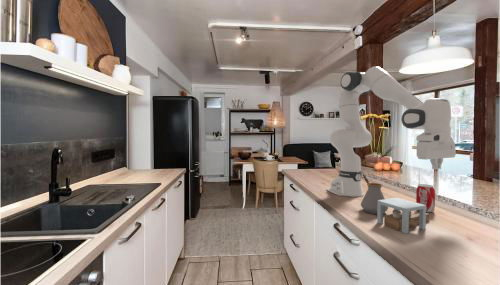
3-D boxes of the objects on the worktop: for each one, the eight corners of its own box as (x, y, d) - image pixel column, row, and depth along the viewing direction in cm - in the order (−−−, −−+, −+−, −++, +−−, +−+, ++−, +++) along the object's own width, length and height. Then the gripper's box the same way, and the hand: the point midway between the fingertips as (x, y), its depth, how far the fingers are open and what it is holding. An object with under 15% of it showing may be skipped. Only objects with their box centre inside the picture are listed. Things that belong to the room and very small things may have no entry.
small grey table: (377, 222, 99) (377, 200, 98) (396, 218, 103) (396, 197, 102) (405, 233, 87) (406, 208, 87) (425, 229, 91) (426, 205, 91)
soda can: (438, 213, 108) (438, 187, 108) (420, 212, 110) (420, 186, 109) (429, 208, 115) (430, 184, 115) (413, 208, 117) (413, 183, 116)
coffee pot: (392, 216, 106) (393, 182, 105) (365, 215, 107) (365, 182, 107) (374, 202, 127) (374, 174, 127) (351, 201, 129) (351, 174, 128)
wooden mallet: (419, 217, 104) (419, 203, 103) (434, 222, 98) (434, 207, 98) (384, 225, 96) (384, 210, 95) (398, 231, 90) (398, 214, 90)
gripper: (444, 136, 108) (443, 166, 109) (413, 136, 101) (413, 169, 101) (460, 136, 103) (460, 168, 103) (429, 137, 95) (428, 171, 95)
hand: (436, 169), depth 102 cm, fingers closed
